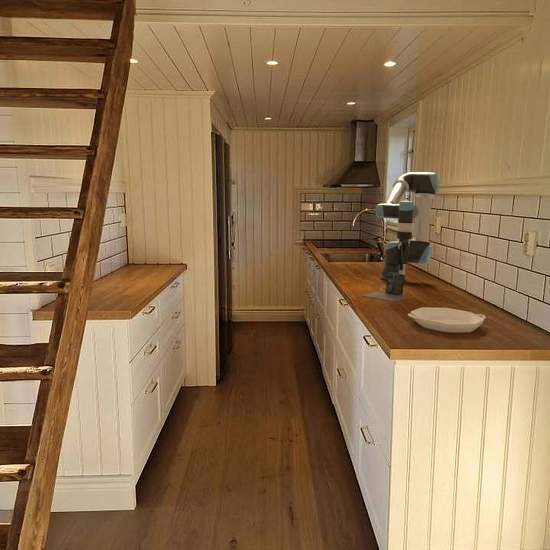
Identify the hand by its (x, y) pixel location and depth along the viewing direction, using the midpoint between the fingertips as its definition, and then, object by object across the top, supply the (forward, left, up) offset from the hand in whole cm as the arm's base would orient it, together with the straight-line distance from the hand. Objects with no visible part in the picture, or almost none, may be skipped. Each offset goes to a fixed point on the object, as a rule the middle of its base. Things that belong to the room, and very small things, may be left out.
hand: (401, 276), depth 252 cm
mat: (+18, 0, -9) cm, 20 cm away
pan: (+51, +41, -9) cm, 66 cm away
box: (+8, 0, -9) cm, 12 cm away
